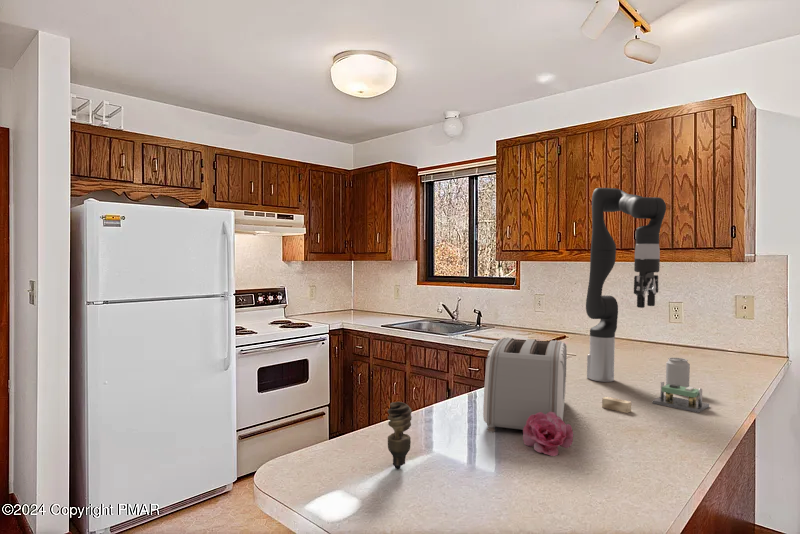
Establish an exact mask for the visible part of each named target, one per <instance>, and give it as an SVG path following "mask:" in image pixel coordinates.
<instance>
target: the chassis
mask: <svg viewBox="0 0 800 534" xmlns="http://www.w3.org/2000/svg"><path fill="white" fill-rule="evenodd" d="M663 386H665V382H664V381H660V396H659V397H657V398H654V399H653V400H652V405H659V406H664V407H669V408H673V409H674V408H675V409H679V410H683V411H689V412H693V413H698V414H699V413H701V412H703V411H705V410H706V409H708V408H709V407H710V403H708V402H703V388H700V387H698V389H699V396H698V397H695V398H694V397H689V396H688V399H686V398H681V397H675V396H674V394H672V393H667V392H662V387H663ZM697 398H698V401H697Z"/></svg>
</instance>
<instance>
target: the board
mask: <svg viewBox="0 0 800 534" xmlns="http://www.w3.org/2000/svg"><path fill="white" fill-rule="evenodd" d="M662 392H664V393H666V392H667V393H672V394H673V395H679V396H684V397H688V398H689V397H694V398H695V397H696V398H698V397H699V388H695V387H692V386H689V387H682V386H680V385H677V384H668V385H666V384H664V386H663V387H662Z"/></svg>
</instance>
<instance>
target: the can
mask: <svg viewBox="0 0 800 534" xmlns="http://www.w3.org/2000/svg"><path fill="white" fill-rule="evenodd" d="M688 361H689V360H688V359H686V358H683V357H682V358H681V357H669V358H668V360H667V361H666V362H665V385H668V384H677V385H680V386H682V387H690V367H691V366H690V363H689V362H688Z"/></svg>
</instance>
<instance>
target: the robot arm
mask: <svg viewBox="0 0 800 534" xmlns="http://www.w3.org/2000/svg"><path fill="white" fill-rule="evenodd" d="M666 211H667V205H666V201H665V200H664V199H663V198H661V197H657V196H656V197H655V196H653V197H652V196H651V197H650V196H649V197H647V196H646V197H645V196H641V195H639V194H638V195H637V194H631V193H630V194H629V193H627V192H625V191H623V190H622V189H619V188H615V187H597V188H595V189H594V190H593V192H592V195H591V222H592V223H591V225H592V226H591V245H590V258H589V259H590V260H589V263H590V264H589V277H588V278H589V279H588V285H587V286H588V287H587V291H586V292H587V294H586V300H585V311H586V315H587V317H588V318H590V319H591V320H600V321H599V322H598V324H596V325H595V326H592V327H591V328H589V329H590V330H589V353H588V354H587V356H586V357H587V358H586V361H587V362H586V379H590V380H592V381H594V382H595V381H596V382H601V383H603V382H605V383H608V382H609V383H610V382H614V381H615V340H616V339H615V337H616V332H617V328H618V319H619V317H618V315H619V305H618V304H619V303H618V301H617V299H616V298H615V296H612V295H602V293H603V287H604V284H605V282H606V280H607V278H608V276H610V273H611V272H612V270H613V268H614V266H615V264H616V256H617V255H616V254H617V253H616V252H617V245H616V242H615V240H614V237H612V235H611V233H610V232H609V230H608V228H607V226H606V223H605V218H604V217H605V216H604V213H615V212H623V213H624V214H627V215H629V216H631V217H632V218H634V219H642V220H643V219H647V220H649V219H650V220H649V222H648V224H646V225H641V226H639V227H637V228H636V229H635V248H634V262H633V263H634V266H633V267H634V268H633V270H634V272H635V273H639V274H638V275H634V277H633V279H634V280H633V294H634V295H635V296H636V307H637V308H640V309H643V308H645V306H646V305H647V306H648V307H654V306H656V295H657V293H659V275H658V274H655V273H659V272H660V266H661V265H660V263H661V261H660V260H661V259H660V257H661V255H660V254H661V251H660V232H661V227H662V224H663V220H664V217H665V215H666ZM646 293H647V303H646ZM645 304H646V305H645Z"/></svg>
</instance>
